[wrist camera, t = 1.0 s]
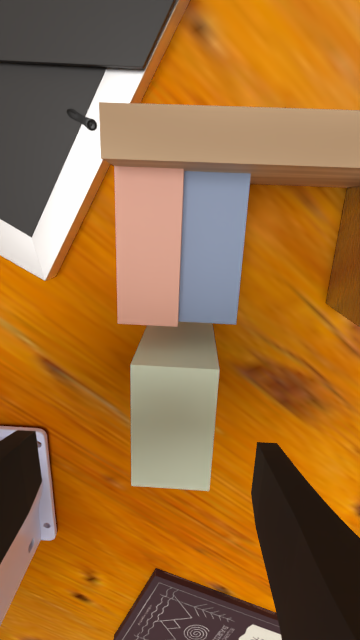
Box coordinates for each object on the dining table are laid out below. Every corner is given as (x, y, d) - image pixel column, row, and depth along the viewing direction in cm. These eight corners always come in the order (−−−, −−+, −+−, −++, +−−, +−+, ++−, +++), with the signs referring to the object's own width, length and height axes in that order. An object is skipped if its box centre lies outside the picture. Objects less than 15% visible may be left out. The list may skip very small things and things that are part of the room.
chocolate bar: (155, 575, 25) (359, 650, 27) (156, 562, 26) (354, 636, 28) (113, 642, 28) (300, 707, 29) (115, 629, 29) (297, 692, 30)
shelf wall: (377, 188, 16) (500, 173, 10) (138, 179, 17) (100, 158, 10) (384, 155, 16) (518, 115, 9) (138, 147, 16) (98, 102, 10)
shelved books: (226, 298, 19) (238, 329, 14) (138, 294, 19) (117, 323, 14) (236, 183, 17) (253, 171, 12) (138, 179, 17) (114, 166, 12)
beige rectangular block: (205, 408, 21) (209, 490, 15) (150, 405, 21) (131, 485, 15) (211, 318, 19) (219, 369, 13) (151, 315, 19) (130, 364, 13)
